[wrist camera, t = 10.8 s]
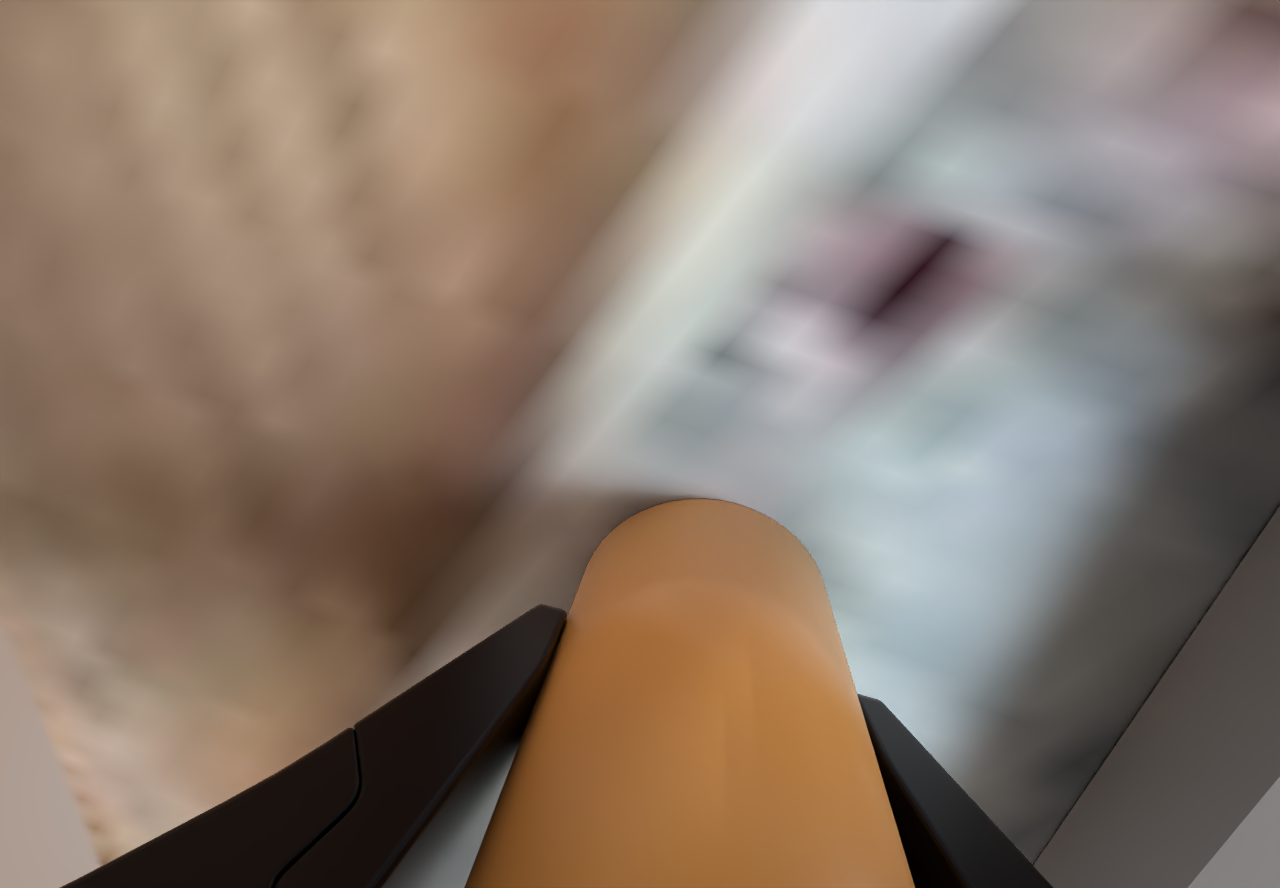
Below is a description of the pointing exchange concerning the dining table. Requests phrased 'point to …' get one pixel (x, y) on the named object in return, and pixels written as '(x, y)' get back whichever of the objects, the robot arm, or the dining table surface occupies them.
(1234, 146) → the dining table surface
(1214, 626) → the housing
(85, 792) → the dining table surface
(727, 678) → the orange rounded plug
